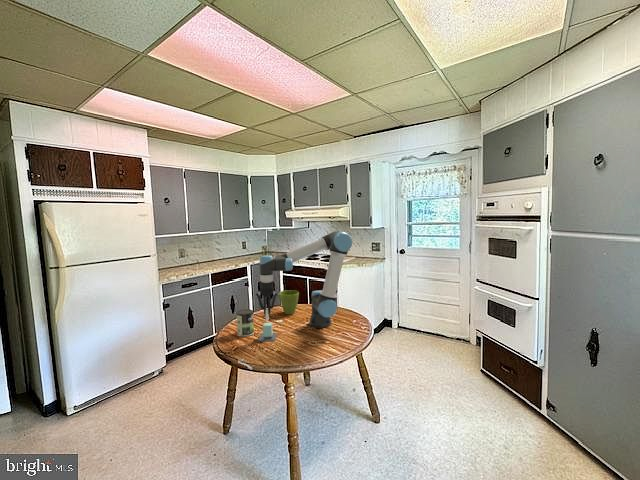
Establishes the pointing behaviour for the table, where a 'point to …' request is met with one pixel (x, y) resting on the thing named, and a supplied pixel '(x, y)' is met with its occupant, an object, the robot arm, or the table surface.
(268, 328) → the mint green block
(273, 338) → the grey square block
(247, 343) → the table surface
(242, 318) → the coffee can
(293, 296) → the flower pot
